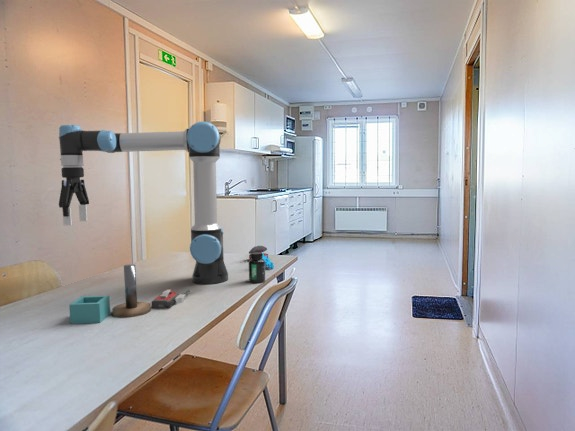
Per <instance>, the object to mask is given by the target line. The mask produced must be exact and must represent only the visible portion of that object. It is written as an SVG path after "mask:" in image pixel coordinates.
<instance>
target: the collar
mask: <svg viewBox="0 0 575 431" xmlns="http://www.w3.org/2000/svg"><path fill="white" fill-rule="evenodd" d="M110 298H111V296H110V295H89V296H88V295H85V296H80V297H78V298H76V299H75V300H74V301H73V302H71V303H70V304H69V306H68V307H69V308H68V309H69V321H70V322H69V323H70V324H73V325H74V324H98V323H99V324H100V323H102V322H103V321H104V320H105V319H106V318H107V317H108V316H110V315H111V303H110V302H111V301H110Z"/></svg>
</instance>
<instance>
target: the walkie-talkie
mask: <svg viewBox="0 0 575 431" xmlns="http://www.w3.org/2000/svg"><path fill="white" fill-rule="evenodd" d="M190 292H191V290H190V289H188V290H187V291H185V293H182V294H180V292H177V291H174V290H173V289H165V290H164V291H163V292H162V293H161V294H159V295H158V296H157V297H155V298H154V299H153V300H152V301H150V302H151V303H150V305H151V309H154V310H155V309H159V310H160V309H161V310H163V309H167V310H168V309H171V308H172V307H173V306H174V305H178V304H182V303H184V301H186V299H187V298H186V297H187V295H189V293H190Z"/></svg>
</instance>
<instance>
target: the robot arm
mask: <svg viewBox="0 0 575 431" xmlns="http://www.w3.org/2000/svg"><path fill="white" fill-rule="evenodd" d="M58 131H59V132H58V135H59V136H58V139H59V149H60V157H59V158H60V159H59V160H60V166H62V167H61V178H65V180H64V179H62V180H61V188H60V194H59V195H60V196H59V201H58V207H59V209H60V208H62V209H61V210H62V221H63V222H62V223H63V224H62V225H63V226H72V225H73V221H72V208H71V207H70V206H71V203H72V199H73V196H74V194H75V196H76V199H77V201H78V203H79V204H78V216H79V222H88V210H87V209H88V208H87V205H89V204H90V199H89V196H88V192H87V189H86V188H87V187H86V185H85V179H81V178H84V177H85V172H84V168H83V166H84V157H83V156H84V155H83V152H87V151H88V152H104V153H109V154H114V153H124V152H125V153H127V152H156V151H157V152H162V151H166V152H167V151H186V152H187V153H188V158H189V160H191V161H192V164H193V172H192V173H193V202H194V205H193V207H194V225H193V226H192V227H191V228H190V238H191V239H190V242H191V243H190V245H189V251H190V255H191V257H192V258H193V260H194V261H195V265H194V267H193V268H194V269H193V272H192V275H191V277H192V278H191V279H192V283H195V284H201V285H212V284H220V283H223V282H227V281H228V280H229V272H228V269H227V267H226V263H225V261H224V260H225V259H224V258H225V257H224V229H223V227H222V226H220V225H219V223H218V212H217V211H218V210H217V209H218V208H217V206H218V205H217V204H218V202H217V199H218V198H217V161H218V160H219V159H220V157H221V156H220V154H221V152H220V149H221V148H220V145H221V134H220V132H219V130H218V128H217V127H216V126H215V125H214V124H213V123H212V122H209V121H204V120H203V121H202V120H201V121H197V122H195V123H193V124H192V125H191V126H190V127H189V128H186V129H184V130H181V131H155V132H154V131H152V132H150V131H149V132H128V133H127V132H122V133H121V132H119V133H117V132H116V133H115V132H114V131H112V130H105V129H103V130H102V129H101V130H82V127H81V126H80V125H77V124H61V125H60V126H59V128H58Z"/></svg>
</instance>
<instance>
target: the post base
mask: <svg viewBox="0 0 575 431" xmlns="http://www.w3.org/2000/svg"><path fill="white" fill-rule="evenodd" d="M151 309H152V304H151V303H149V302H147V301H137V307H136V308H132V309H127V308H126V302H124V303H120V304H117V305H115V306H113V307H112V310H111V311H112V316H114V317H116V318H117V317H118V318H134V317H139V316H143V315H145V314H147V313H150V311H151Z"/></svg>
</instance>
